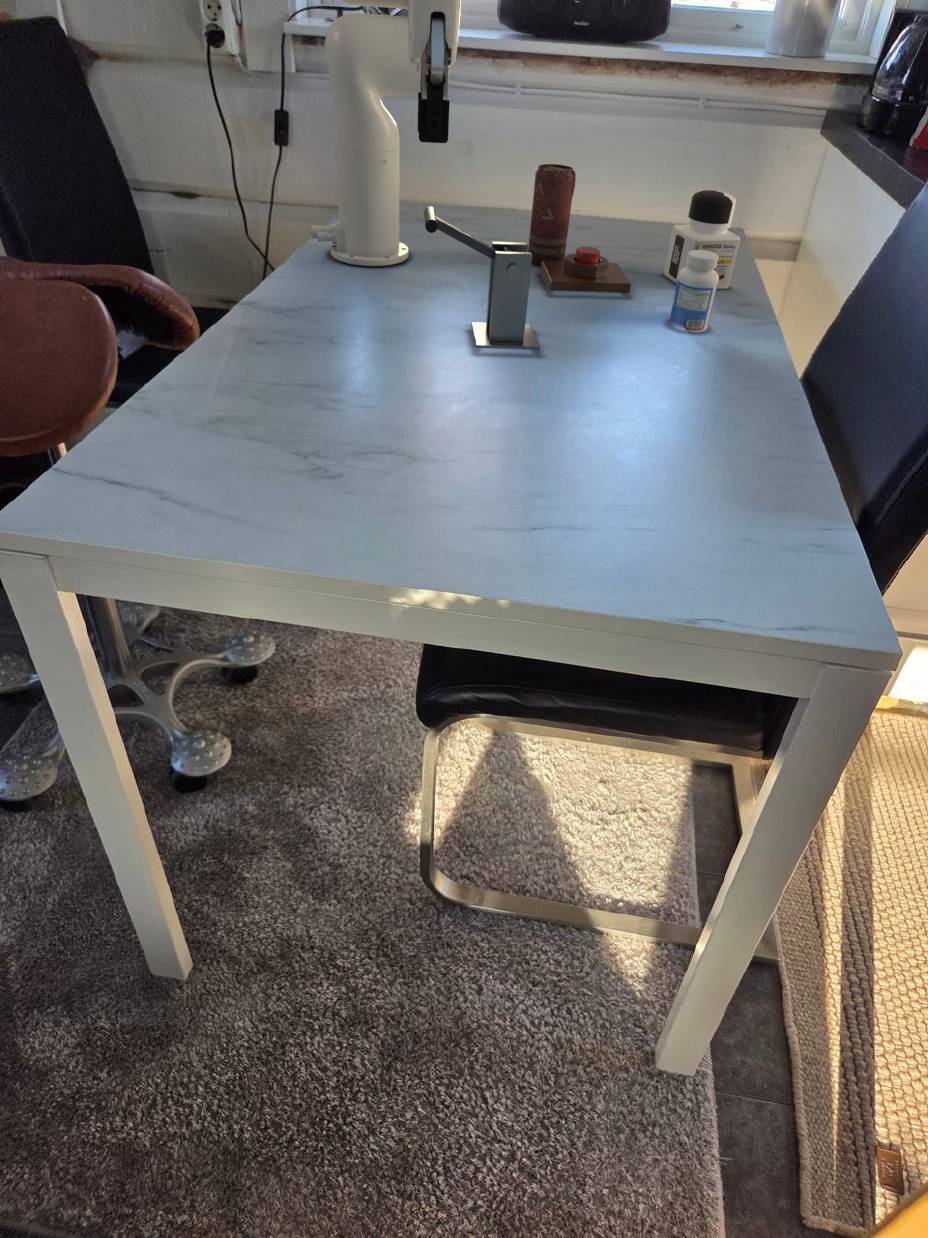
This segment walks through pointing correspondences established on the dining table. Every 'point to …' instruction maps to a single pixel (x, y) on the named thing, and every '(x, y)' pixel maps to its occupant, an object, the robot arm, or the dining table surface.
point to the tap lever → (457, 233)
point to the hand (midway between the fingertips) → (432, 135)
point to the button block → (584, 276)
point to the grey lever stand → (507, 301)
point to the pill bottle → (695, 291)
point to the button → (587, 255)
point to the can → (551, 212)
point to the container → (705, 235)
